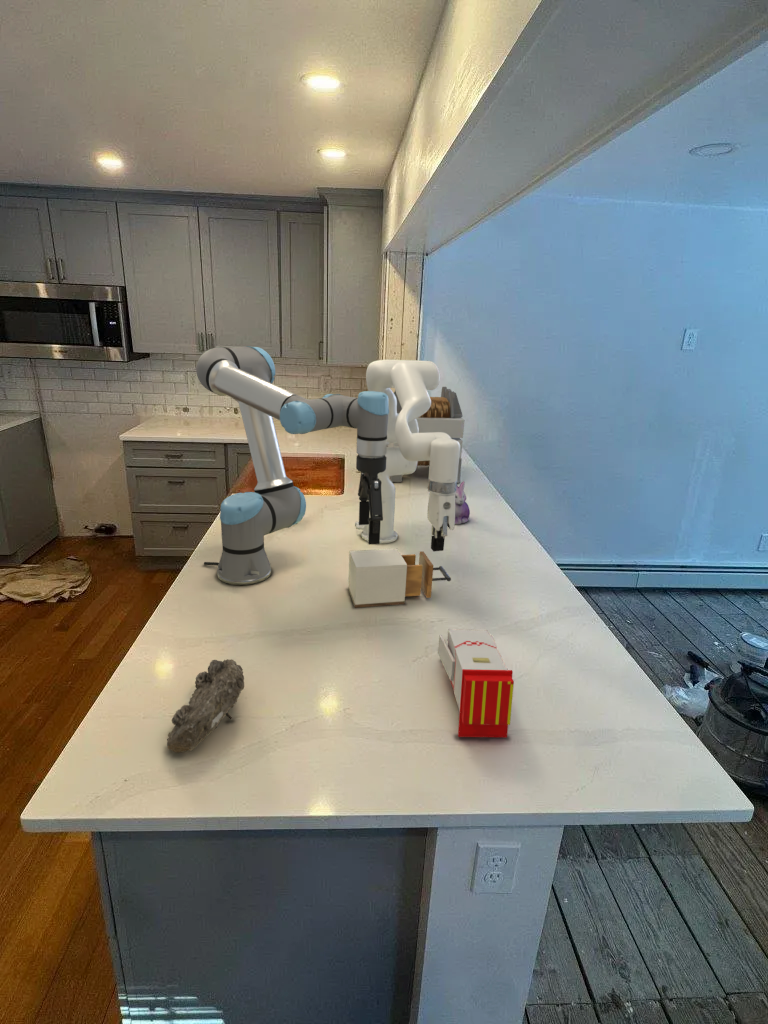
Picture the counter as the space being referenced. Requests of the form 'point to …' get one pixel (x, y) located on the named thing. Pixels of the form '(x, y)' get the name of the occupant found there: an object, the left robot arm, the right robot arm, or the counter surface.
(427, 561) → the drawer
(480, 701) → the toy
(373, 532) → the left robot arm
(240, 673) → the fossil
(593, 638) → the counter surface
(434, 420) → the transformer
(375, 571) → the off-white box shell
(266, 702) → the counter surface
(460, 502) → the figurine
